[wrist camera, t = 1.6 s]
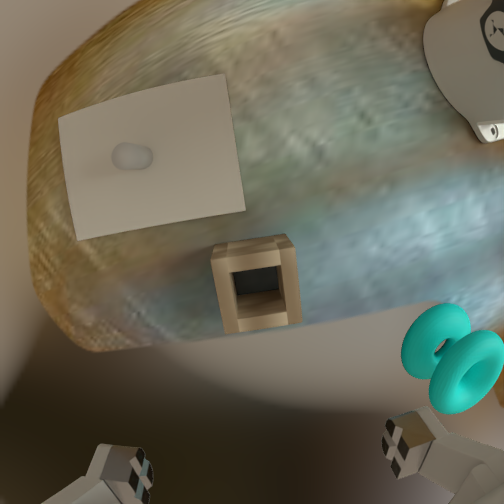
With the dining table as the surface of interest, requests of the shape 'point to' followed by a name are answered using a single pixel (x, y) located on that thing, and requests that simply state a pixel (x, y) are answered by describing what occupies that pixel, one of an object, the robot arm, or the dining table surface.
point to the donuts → (452, 357)
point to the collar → (261, 303)
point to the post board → (176, 158)
